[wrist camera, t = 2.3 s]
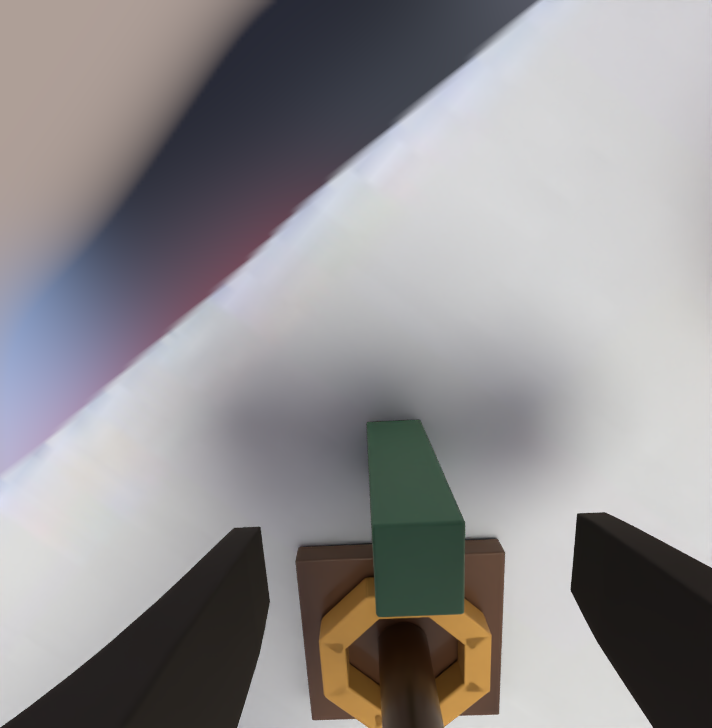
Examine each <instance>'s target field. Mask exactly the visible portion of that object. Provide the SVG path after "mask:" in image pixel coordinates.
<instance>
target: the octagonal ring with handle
mask: <svg viewBox="0 0 712 728" xmlns="http://www.w3.org/2000/svg"><path fill="white" fill-rule="evenodd" d="M367 445H368V466H369V487H370V508H371V528H372V547H373V567H374V577H367V578H365V579H364V580H362V581H361V582H360V583H359V584H358V585H357V586H356V587H355V588H354V589H353V590H352V591H351V592H350V593H349V594H347V595H346V596H345V597H344V598H343V599H342V600H341V601H340V602H339V603H338V604H337V605H336V606H335V607H334V608H333V609H331V610H330V611H329V612H328V613H327V614H326V615H325V616H324V617H323V618H322V621H321V627H320V636H319V649H320V659H321V670H322V680H323V691H324V695H325V697H326V698H327V699H328V700H330V701H331V702H333V703H334V704H336V705H337V706H338V707H340V708H341V709H343V710H344V711H346V712H347V713H348V714H350V715H351V716H353V717H354V718H356V719H357V720H358V721H360V722H361V723H363V724H364V725H366V726H367V727H368V728H382V715H381V695H380V685H378V684H377V683H376V682H374V681H373V680H371V679H370V678H369V677H367V676H366V675H365V674H363V673H362V672H360V671H359V670H358V669H356V668H355V667H353V666H352V665H351V664H349V651H348V647H349V646H350V645H351V644H352V643H353V642H354V641H355V640H356V639H357V638H359V637H360V636H361V635H362V634H363V633H364V632H365V631H366V630H367V629H369V628H370V627H371V626H372V625H373V624H374V623H375V622H376V621H377V620H379V619H393V618H420V617H429V618H431V619H432V620H433V621H435V622H436V623H437V624H438V625H440V626H441V627H442V628H444V629H445V630H446V631H447V632H449V633H450V634H451V635H453V636H454V637H455V638H456V639H458V660H457V661H456V662H455V663H453V664H452V665H451V666H450V667H449V668H447V669H446V670H445V671H444V672H442V673H441V674H440V675H439V676H438V677H436V678H435V682H436V687H437V693H438V698H439V703H440V708H441V714H442V719H443V724H444V727H445V726H446V725H448V724H449V723H450V722H451V721H453V720H454V719H455V718H456V717H458V716H459V715H460V714H461V713H463V712H464V711H465V710H466V709H468V708H469V707H470V706H471V705H473V704H474V703H475V702H477V701H478V700H479V699H480V698H482V697H483V696H484V695H485V694H487V693H488V692H490V671H491V638H492V635H491V633H490V630H489V627H488V625H487V622H486V619H485V617H484V614H483V613H482V612H481V611H480V610H479V609H477V608H476V607H475V606H474V605H472V604H471V603H470V602H469V601H467V600H466V599H465V598H464V587H465V521H464V519H463V517H462V514H461V512H460V510H459V508H458V505H457V503H456V501H455V498H454V496H453V494H452V492H451V489H450V487H449V485H448V483H447V480H446V478H445V476H444V473H443V471H442V469H441V467H440V464H439V462H438V460H437V457H436V455H435V453H434V451H433V448H432V446H431V444H430V442H429V439H428V437H427V435H426V432H425V430H424V428H423V426H422V423H421V421H420V420H401V421H380V422H367Z"/></svg>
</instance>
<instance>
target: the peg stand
mask: <svg viewBox="0 0 712 728" xmlns="http://www.w3.org/2000/svg"><path fill="white" fill-rule="evenodd" d="M295 562H296V571H297V581H298V590H299V600H300V609H301V619H302V628H303V637H304V647H305V656H306V666H307V675H308V685H309V694H310V704H311V713H312V720H337V719H356V718H354V717H353V716H351V715H350V714H348V713H347V712H346V711H344V710H343V709H341V708H340V707H338V706H337V705H336V704H334V703H333V702H331V701H330V700H328V699H327V698H326V697H325V695H324V691H323V680H322V670H321V659H320V649H319V636H320V627H321V621H322V618H323V617H324V616H325V615H326V614H327V613H328V612H329V611H330V610H331V609H333V608H334V607H335V606H336V605H337V604H338V603H339V602H340V601H341V600H342V599H343V598H344V597H345V596H346V595H347V594H349V593H350V592H351V591H352V590H353V589H354V588H355V587H356V586H357V585H358V584H359V583H360V582H361V581H362V580H364V579H365V578H367V577H374V567H373V547H372V544H363V545H339V546H314V547H299V548H298V552H297V557H296V561H295ZM504 567H505V552H504V550H503V548H502V546H501V544H500V542H499V540H498V539H484V540H465V587H464V598H465V599H466V600H467V601H469V602H470V603H471V604H472V605H474V606H475V607H476V608H477V609H479V610H480V611H481V612H482V613H483V614H484V617H485V619H486V622H487V625H488V627H489V630H490V633H491V635H492V638H491V671H490V692H488V693H487V694H485V695H484V696H483V697H482V698H480V699H479V700H478V701H477V702H475V703H474V704H473V705H471V706H470V707H469V708H468V709H466V710H465V711H464V712H463V713H461V714H460V715H459V716H466V715H498V714H499V701H500V674H501V647H502V620H503V593H504ZM348 651H349V664H351V665H352V666H353V667H355V668H356V669H358V670H359V671H360V672H362V673H363V674H365V675H366V676H367V677H369V678H370V679H371V680H373V681H374V682H376V683H377V684H378V685H380V695H381V715H382V728H444V724H443V719H442V714H441V708H440V703H439V698H438V693H437V687H436V682H435V678H436V677H438V676H439V675H440V674H441V673H442V672H444V671H445V670H446V669H447V668H449V667H450V666H451V665H452V664H453V663H455V662H456V661H457V660H458V639H456V638H455V637H454V636H453V635H451V634H450V633H449V632H447V631H446V630H445V629H444V628H442V627H441V626H440V625H438V624H437V623H436V622H435V621H433V620H432V619H431V618H429V617H420V618H393V619H379V620H377V621H376V622H375V623H374V624H373V625H372V626H371V627H370V628H369V629H367V630H366V631H365V632H364V633H363V634H362V635H361V636H360V637H359V638H357V639H356V640H355V641H354V642H353V643H352V644H351V645H350V646H349V647H348Z"/></svg>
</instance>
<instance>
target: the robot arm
mask: <svg viewBox="0 0 712 728" xmlns="http://www.w3.org/2000/svg"><path fill="white" fill-rule="evenodd" d="M571 592H572V594H573V596H574V598H575V600H576V602H577V604H578V606H579V608H580V610H581V612H582V614H583V616H584V618H585V620H586V622H587V624H588V625H589V627H590V629H591V631H592V633H593V635H594V637H595V639H596V640H597V642H598V644H599V645H600V647H601V648H602V650H603V652H604V653H605V655H606V656H607V658H608V659H609V661H610V662H611V664H612V666H613V667H614V669H615V670H616V672H617V673H618V675H619V676H620V678H621V679H622V681H623V682H624V684H625V686H626V687H627V689H628V690H629V692H630V693H631V695H632V696H633V698H634V699H635V701H636V702H637V704H638V705H639V707H640V708H641V710H642V711H643V713H644V714H645V716H646V717H647V719H648V720H649V722H650V723H651V725H652V726H653V728H712V568H711V567H709V566H707V565H705V564H703V563H701V562H700V561H698V560H696V559H694V558H692V557H690V556H688V555H686V554H685V553H683V552H681V551H679V550H677V549H675V548H673V547H672V546H670V545H668V544H666V543H664V542H662V541H660V540H658V539H657V538H655V537H653V536H651V535H649V534H647V533H645V532H643V531H642V530H640V529H638V528H636V527H634V526H632V525H630V524H628V523H626V522H624V521H622V520H620V519H618V518H616V517H614V516H612V515H609V514H607V513H605V512H603V513H579V514H577V522H576V534H575V545H574V557H573V569H572V580H571ZM269 603H270V599H269V591H268V583H267V575H266V567H265V560H264V552H263V544H262V536H261V528H260V527H243V528H234V529H232V530H231V531H230V532H229V533H228V534H227V535H226V536H225V537H224V538H223V539H222V540H221V541H220V542H219V543H218V544H217V545H216V546H214V547H213V548H212V549H211V550H210V551H209V552H208V553H207V554H206V555H205V556H204V557H203V558H202V559H201V560H200V561H199V562H198V563H197V564H196V565H195V566H194V567H193V568H192V569H191V570H190V571H189V572H188V573H187V574H185V575H184V576H183V577H182V578H181V579H180V580H179V581H178V582H177V583H176V584H175V585H174V586H173V587H172V588H171V589H170V590H169V591H167V592H166V593H165V594H164V595H163V596H162V597H161V598H160V599H159V600H158V601H157V602H156V603H154V604H153V605H152V606H151V607H150V608H149V609H148V610H146V611H145V612H144V613H143V614H142V615H141V616H140V617H138V618H137V619H136V620H135V621H134V622H133V623H132V624H130V625H129V626H128V627H127V628H126V629H125V630H124V631H122V632H121V633H120V634H119V635H118V636H117V637H116V638H114V639H113V640H112V641H111V642H110V643H109V644H108V645H106V646H105V647H104V648H103V649H102V650H100V651H99V652H98V653H97V654H96V655H94V656H93V657H92V658H91V659H90V660H88V661H87V662H86V663H85V664H83V665H82V666H81V667H80V668H78V669H77V670H76V671H75V672H73V673H72V674H71V675H70V676H68V677H67V678H66V679H64V680H63V681H62V682H60V683H59V684H58V685H57V686H55V687H54V688H53V689H51V690H50V691H49V692H48V693H46V694H45V695H44V696H42V697H41V698H40V699H39V700H37V701H36V702H35V703H33V704H32V705H31V706H29V707H28V708H27V709H25V710H24V711H23V712H21V713H20V714H19V715H17V716H16V717H15V718H13V719H12V720H10V721H9V722H7V723H6V724H5V725H3V726H2V727H0V728H237V727H238V723H239V720H240V717H241V713H242V710H243V707H244V704H245V700H246V697H247V694H248V690H249V687H250V684H251V680H252V677H253V674H254V671H255V667H256V664H257V660H258V657H259V654H260V649H261V644H262V639H263V635H264V630H265V624H266V619H267V614H268V608H269Z"/></svg>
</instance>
